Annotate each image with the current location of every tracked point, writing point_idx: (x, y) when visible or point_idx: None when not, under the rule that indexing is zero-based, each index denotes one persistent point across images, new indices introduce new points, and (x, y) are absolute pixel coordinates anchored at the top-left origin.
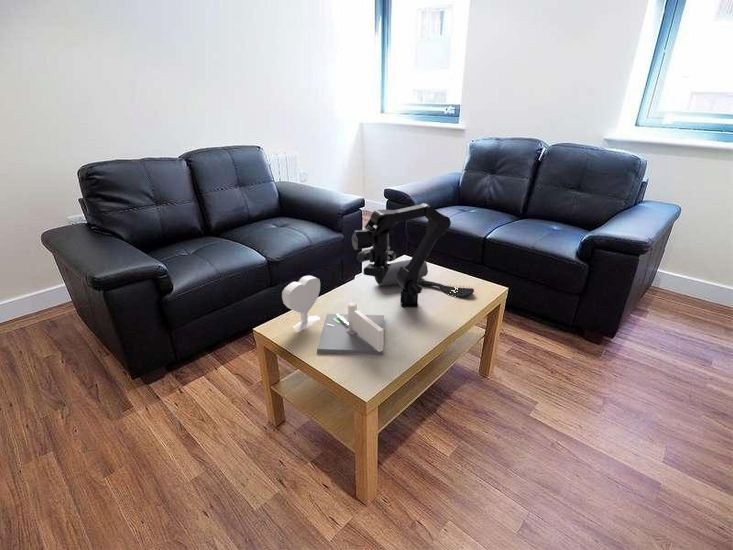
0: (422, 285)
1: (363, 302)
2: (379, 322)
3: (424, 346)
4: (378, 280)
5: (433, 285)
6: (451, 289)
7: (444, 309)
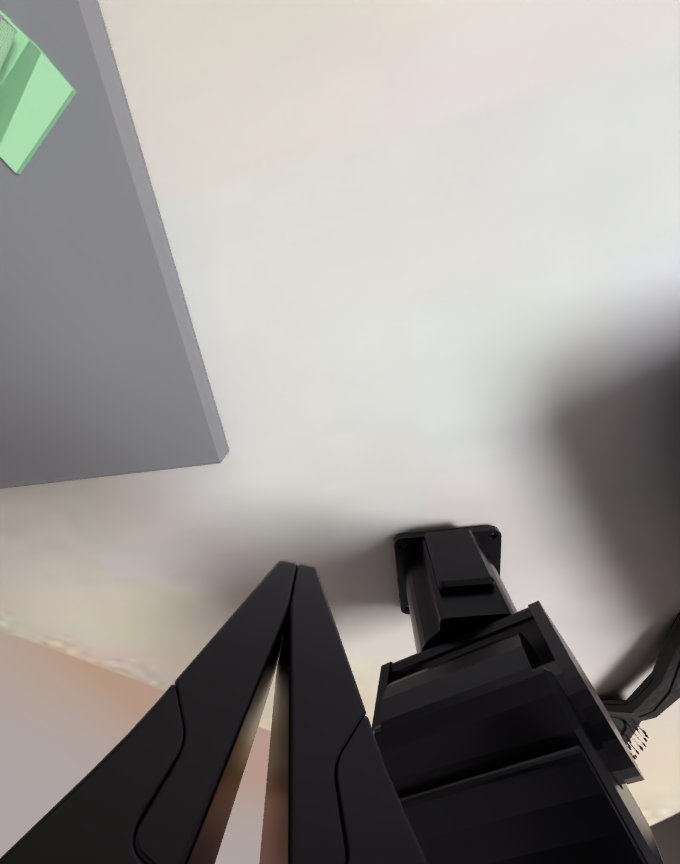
0: (674, 624)
1: (428, 253)
2: (119, 446)
3: (66, 636)
4: (242, 613)
5: (647, 683)
6: None
7: None
